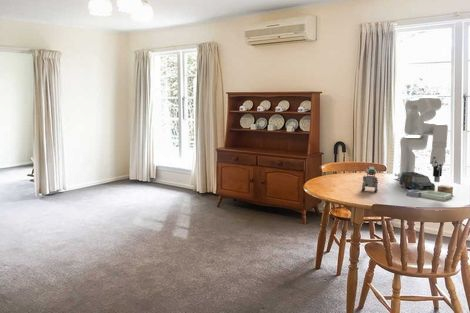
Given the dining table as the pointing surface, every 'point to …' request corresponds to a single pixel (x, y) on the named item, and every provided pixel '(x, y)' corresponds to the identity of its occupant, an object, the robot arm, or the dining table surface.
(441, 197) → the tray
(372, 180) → the figurine
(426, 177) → the toy van
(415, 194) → the pin socket
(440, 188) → the chock
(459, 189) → the dining table surface
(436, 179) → the stop pin
